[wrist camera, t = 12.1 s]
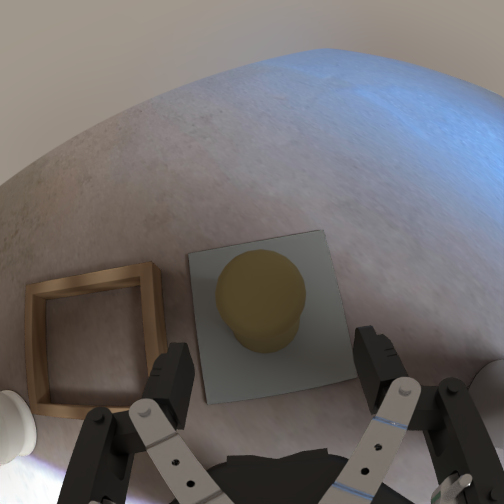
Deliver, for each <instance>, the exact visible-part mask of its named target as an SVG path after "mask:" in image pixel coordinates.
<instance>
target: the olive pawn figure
mask: <svg viewBox="0 0 504 504" xmlns="http://www.w3.org/2000/svg"><path fill="white" fill-rule="evenodd" d="M215 299H216V307H217V309H218V311H219V314H220V316H221V318H222V320H223V321H224V322H225V323H226V324H227V325H228V326H229V327H230V328H231V329H232V331H233V333H234V335H235V338H236V339H237V340H238V341H239V342H240V343H241V344H242V345H243V347H245V348H247V349H249V350H251V351H253V352H258V353H263V354H265V353H272V352H277V351H279V350H281V349H283V348H285V347H286V346H287V345H288V344H289V343H290V342H291V341H292V340H293V339H294V337H295V335H296V333H297V331H298V329H299V323H300V315H301V313H302V311H303V309H304V306H305V300H306V289H305V283H304V279H303V277H302V275H301V274H300V272H299V270H298V268H297V267H296V266H295V265H294V264H293V263H292V262H291V261H290V260H289V259H288V258H287V257H285V256H283V255H281V254H279V253H277V252H275V251H270V250H264V249H258V250H251V251H247V252H244V253H242V254H240V255H238V256H236V257H234V258H233V259H232V260H231V261H230V262H229V263H228V264H227V265H226V266H225V267H224V269H223V270H222V272H221V274H220V275H219V277H218V281H217V286H216V290H215Z"/></svg>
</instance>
